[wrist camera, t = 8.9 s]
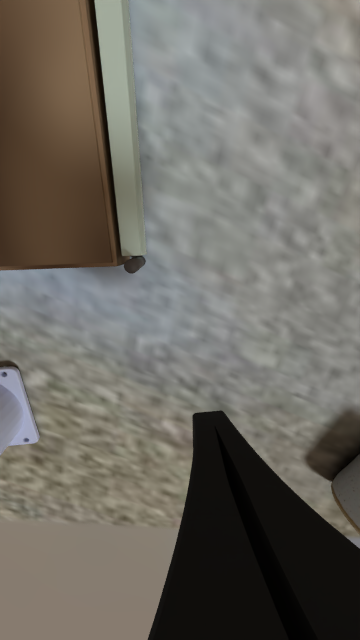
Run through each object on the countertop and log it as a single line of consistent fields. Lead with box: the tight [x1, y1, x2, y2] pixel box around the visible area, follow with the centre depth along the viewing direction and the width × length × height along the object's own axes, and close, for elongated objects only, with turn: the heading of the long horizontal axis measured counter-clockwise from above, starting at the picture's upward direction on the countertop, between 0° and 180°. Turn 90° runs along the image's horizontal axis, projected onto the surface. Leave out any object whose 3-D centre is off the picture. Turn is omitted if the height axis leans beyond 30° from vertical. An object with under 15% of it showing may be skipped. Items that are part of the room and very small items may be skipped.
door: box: [95, 0, 147, 256], centre depth 11 cm, size 14×2×5 cm, turn 1°
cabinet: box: [0, 0, 145, 273], centre depth 11 cm, size 10×15×6 cm, turn 2°
